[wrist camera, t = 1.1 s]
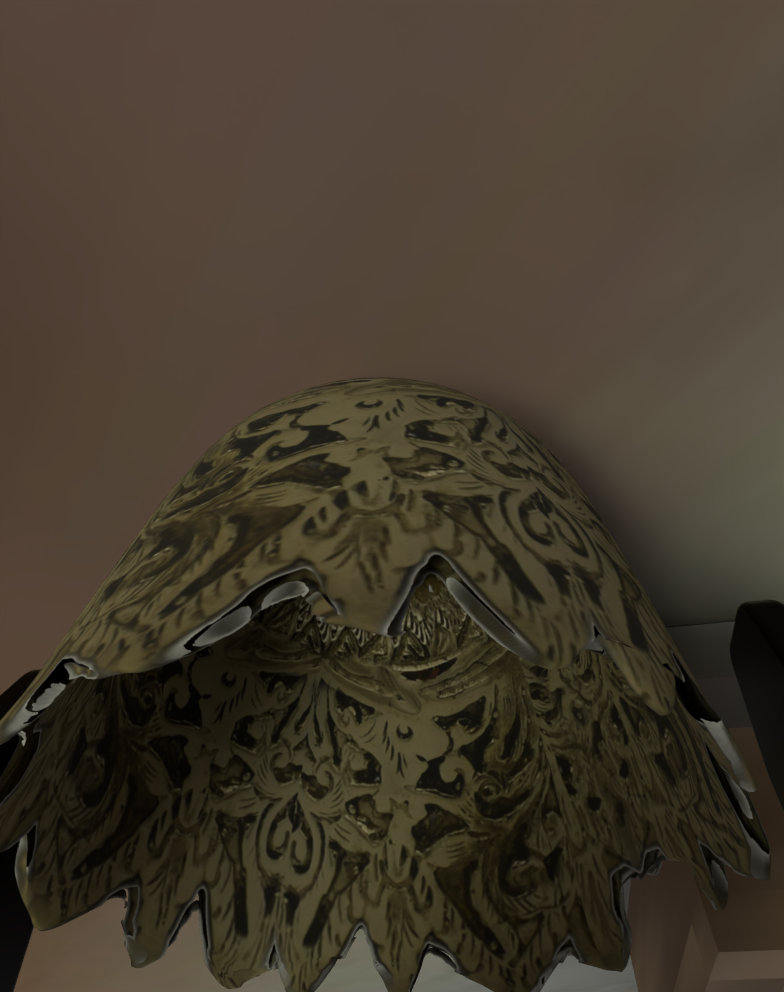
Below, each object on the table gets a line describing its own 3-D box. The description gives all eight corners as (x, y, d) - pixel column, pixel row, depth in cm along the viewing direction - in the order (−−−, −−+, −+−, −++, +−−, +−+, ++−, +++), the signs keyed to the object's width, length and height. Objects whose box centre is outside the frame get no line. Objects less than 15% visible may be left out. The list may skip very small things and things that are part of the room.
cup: (456, 623, 16) (489, 1050, 9) (151, 513, 14) (-66, 954, 8) (666, 371, 12) (977, 824, 5) (274, 165, 10) (26, 486, 3)
